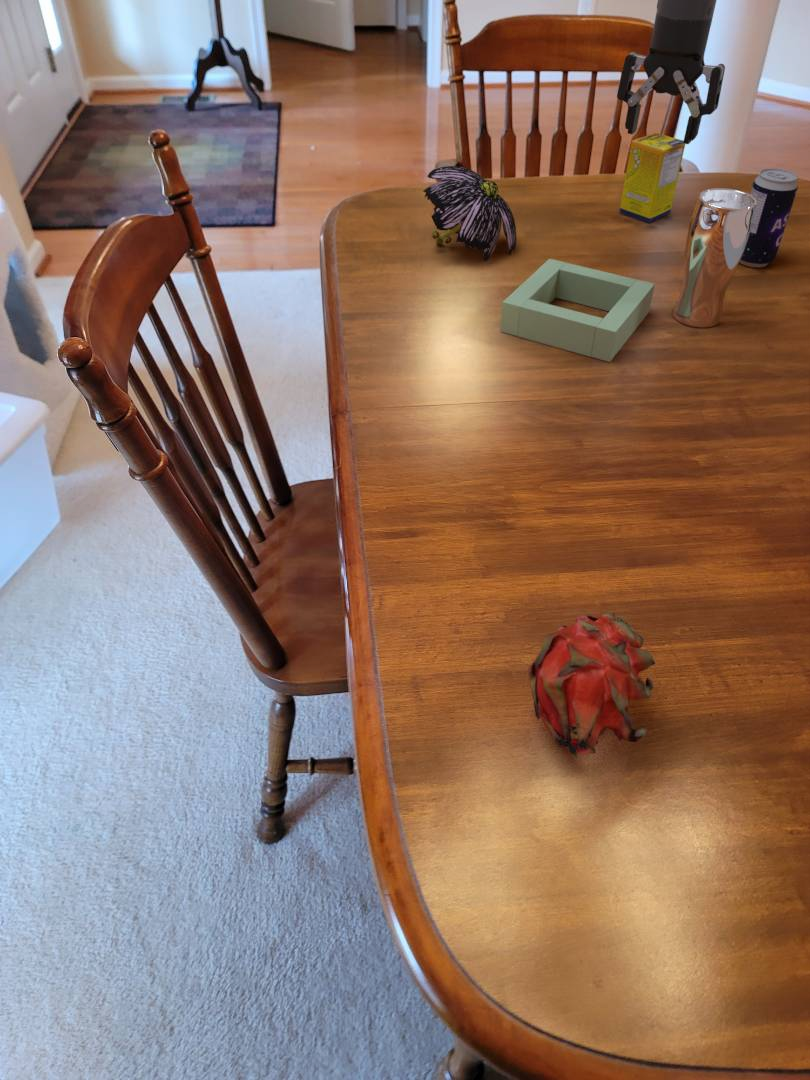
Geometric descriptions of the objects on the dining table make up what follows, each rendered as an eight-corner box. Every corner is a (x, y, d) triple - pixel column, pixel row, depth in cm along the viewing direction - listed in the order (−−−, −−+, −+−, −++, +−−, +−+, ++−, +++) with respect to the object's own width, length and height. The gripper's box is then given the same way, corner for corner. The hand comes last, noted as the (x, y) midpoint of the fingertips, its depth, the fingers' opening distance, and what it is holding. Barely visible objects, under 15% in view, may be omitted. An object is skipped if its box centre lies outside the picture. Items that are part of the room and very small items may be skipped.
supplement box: (639, 203, 135) (653, 131, 128) (671, 214, 132) (687, 140, 124) (617, 212, 132) (630, 139, 125) (649, 224, 129) (664, 149, 122)
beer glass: (727, 332, 104) (762, 211, 94) (670, 327, 105) (699, 207, 95) (721, 306, 109) (754, 189, 99) (667, 301, 110) (694, 185, 100)
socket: (648, 312, 108) (655, 283, 105) (609, 362, 99) (615, 331, 96) (545, 286, 113) (549, 258, 110) (499, 331, 104) (502, 301, 101)
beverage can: (762, 273, 116) (790, 185, 108) (725, 261, 119) (749, 174, 111) (780, 260, 119) (808, 174, 111) (743, 249, 122) (767, 164, 114)
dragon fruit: (608, 662, 67) (568, 797, 60) (529, 602, 65) (479, 734, 58) (689, 634, 60) (655, 781, 54) (605, 566, 59) (558, 710, 52)
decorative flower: (501, 208, 108) (419, 147, 112) (461, 286, 115) (385, 227, 119) (551, 206, 119) (475, 151, 123) (512, 278, 126) (441, 224, 130)
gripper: (744, 12, 113) (713, 139, 124) (643, 0, 118) (622, 122, 130) (730, 23, 108) (699, 153, 120) (625, 9, 114) (604, 136, 125)
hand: (659, 137), depth 125 cm, fingers open, 8 cm apart
